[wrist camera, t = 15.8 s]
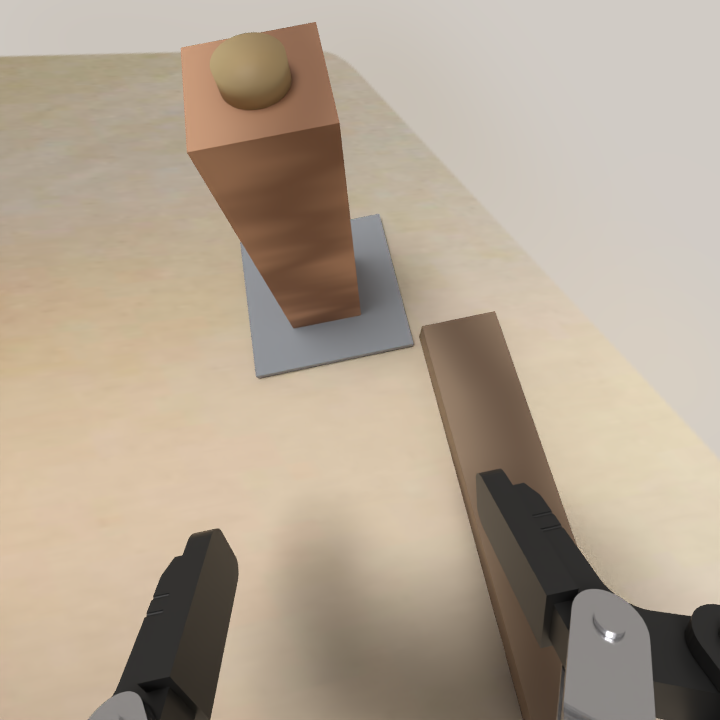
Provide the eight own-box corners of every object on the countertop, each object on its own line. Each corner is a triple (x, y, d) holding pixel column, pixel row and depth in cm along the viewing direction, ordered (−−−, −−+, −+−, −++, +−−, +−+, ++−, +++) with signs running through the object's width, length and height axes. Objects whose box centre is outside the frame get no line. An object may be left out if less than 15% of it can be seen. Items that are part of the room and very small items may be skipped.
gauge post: (293, 328, 21) (174, 131, 9) (284, 269, 22) (169, 22, 10) (361, 315, 21) (336, 99, 9) (348, 256, 22) (312, -5, 10)
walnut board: (524, 722, 15) (539, 748, 14) (419, 336, 21) (422, 326, 19) (615, 702, 15) (639, 726, 14) (486, 322, 21) (494, 311, 19)
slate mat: (258, 378, 20) (256, 376, 20) (242, 245, 23) (240, 242, 23) (412, 346, 20) (413, 343, 20) (379, 217, 23) (379, 213, 23)
